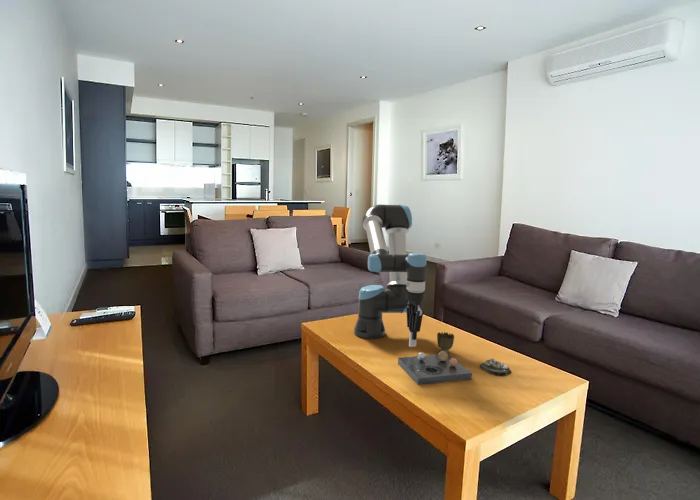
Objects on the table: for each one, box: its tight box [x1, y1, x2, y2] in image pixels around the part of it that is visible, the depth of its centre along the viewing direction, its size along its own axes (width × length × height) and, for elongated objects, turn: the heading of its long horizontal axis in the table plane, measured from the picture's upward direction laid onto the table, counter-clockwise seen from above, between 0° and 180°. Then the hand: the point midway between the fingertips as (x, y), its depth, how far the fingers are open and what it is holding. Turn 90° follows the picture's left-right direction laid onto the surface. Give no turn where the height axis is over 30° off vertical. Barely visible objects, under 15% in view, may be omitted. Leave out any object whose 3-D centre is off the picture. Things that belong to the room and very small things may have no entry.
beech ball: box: [437, 351, 449, 361], centre depth 168 cm, size 4×4×4 cm
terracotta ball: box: [449, 357, 459, 367], centre depth 164 cm, size 3×3×3 cm
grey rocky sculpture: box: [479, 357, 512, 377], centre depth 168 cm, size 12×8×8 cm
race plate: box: [397, 354, 473, 386], centre depth 165 cm, size 19×22×2 cm
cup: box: [436, 331, 455, 354], centre depth 184 cm, size 8×7×8 cm
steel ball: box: [416, 351, 426, 361], centre depth 168 cm, size 3×3×3 cm
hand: (412, 346), depth 176 cm, fingers closed
